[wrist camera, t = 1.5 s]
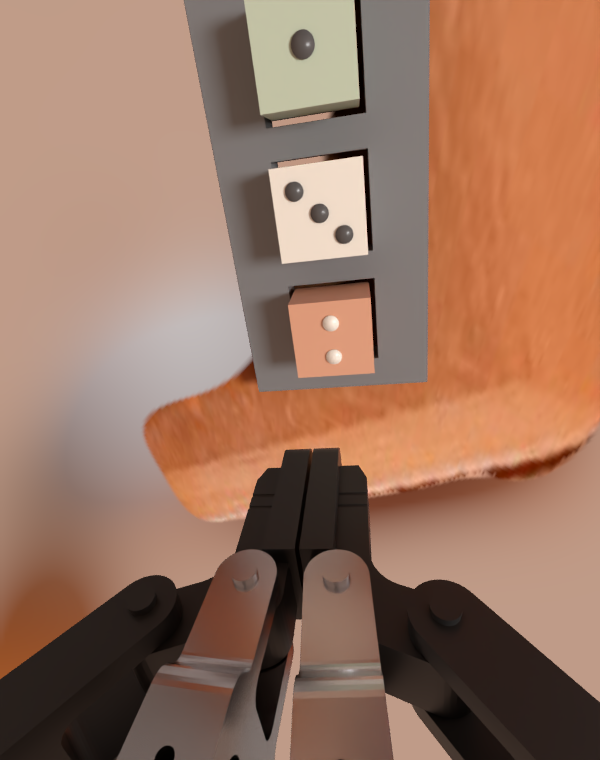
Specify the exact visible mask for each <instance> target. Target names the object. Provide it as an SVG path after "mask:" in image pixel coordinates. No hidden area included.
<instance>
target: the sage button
mask: <svg viewBox="0 0 600 760" xmlns="http://www.w3.org/2000/svg"><path fill="white" fill-rule="evenodd" d="M244 4H245V11H246V18H247V25H248V32H249V39H250V46H251V53H252V60H253V67H254V73H255V80H256V87H257V94H258V101H259V108H260V115H262V116H264V117H266V118H268V119H270V120H272V121H276V120H282V119H289V118H295V117H300V116H307V115H313V114H320V113H326V112H332V111H338V110H344V109H350V108H357V107H359V101H360V95H359V77H358V59H357V41H356V22H355V4H354V0H244Z"/></svg>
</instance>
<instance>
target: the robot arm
mask: <svg viewBox="0 0 600 760" xmlns="http://www.w3.org/2000/svg"><path fill="white" fill-rule="evenodd" d="M296 619H302V630H301V654H300V671H299V674H298V675H296V677H295V683H294V691H293V708H292V728H291V748H290V760H393V752H392V744H391V737H390V728H389V720H388V713H387V705H386V696H385V693H387V694H389V695H392V696H394V697H396V698H399V699H401V700H403V701H405V702H408V703H410V704H412V705H413V708H414V710H415V712H416V713H417V715H418V716H419V717H420V719H421V720H422V721H423V723H424V724H425V725H426V727H427V728H428V729H429V730H430V732H431V733H432V734H433V735H434V737H435V738H436V739H437V741H438V742H439V743H440V744H441V746H442V747H443V748H444V750H445V751H446V752H447V754H448V755H449V756H450V757H451V759H452V760H600V702H599V701H597V700H596V699H595V698H594V697H592V696H591V695H590V694H589V693H588V692H587V691H586V690H585V689H583V688H582V687H581V686H580V685H579V684H578V683H576V682H575V681H574V680H573V679H572V678H571V677H569V676H568V675H567V674H566V673H565V672H564V671H562V670H561V669H560V668H559V667H558V666H557V665H555V664H554V663H553V662H552V661H551V660H550V659H548V658H547V657H546V656H545V655H544V654H543V653H541V652H540V651H539V650H538V649H537V648H536V647H534V646H533V645H532V644H531V643H529V641H527V640H526V639H525V638H524V637H523V636H522V635H520V634H519V633H518V632H517V631H516V630H515V629H513V628H512V627H511V626H510V625H509V624H507V623H506V622H505V621H504V620H503V619H502V618H500V617H499V616H498V615H497V614H496V613H495V612H494V611H492V610H491V609H490V608H489V607H488V606H487V605H485V604H484V603H483V602H482V601H480V599H478V598H477V597H476V596H475V595H474V594H473V593H471V592H470V591H469V590H467V589H466V588H465V587H462V586H461V585H459V584H457V583H454V582H451V581H447V580H431V581H427V582H424V583H422V584H420V585H419V586H417V587H416V588H415V589H412V588H409V587H406V586H402V585H399V584H396V583H394V582H392V581H390V580H388V579H386V578H385V577H384V576H383V575H381V574H380V573H379V572H378V571H377V569H376V568H375V567H374V565H373V563H372V561H371V538H370V516H369V503H368V489H367V477H366V476H365V474H364V473H363V471H362V470H361V468H360V467H359V465H355V466H342V464H341V454H340V448H321V449H314V450H313V453H312V449H297V450H286V451H285V453H284V457H283V462H282V466H281V468H268V469H267V470H266V471H265V472H264V473H263V475H262V476H261V477H260V478H259V479H258V480H257V483H256V486H255V490H254V493H253V497H252V499H251V503H250V509H248V513H247V516H246V519H245V522H244V526H243V529H242V532H241V536H240V539H239V542H238V545H237V549H236V552H235V554H233V555H231V556H229V557H228V558H227V559H225V560H224V561H223V562H222V563H221V565H220V566H219V567H218V569H217V571H216V573H215V575H214V577H212V578H210V579H208V580H205V581H203V582H199V583H196V584H192V585H189V586H185V587H182V588H178V589H176V587H175V584H174V583H173V582H172V581H171V580H170V579H169V578H167V577H165V576H161V575H153V576H148V577H144V578H141V579H139V580H137V581H135V582H133V583H132V584H130V585H129V586H127V587H126V588H124V589H123V590H122V591H120V592H119V593H118V594H116V595H115V596H114V597H112V598H111V599H109V600H108V601H107V602H105V603H104V604H103V605H101V606H100V607H98V608H97V609H96V610H94V611H93V612H92V613H90V614H89V615H88V616H86V617H85V618H83V619H82V620H81V621H79V622H78V623H77V624H75V625H74V626H73V627H71V628H70V629H69V630H67V631H66V632H64V633H63V634H62V635H60V636H59V637H57V638H56V639H55V640H53V641H52V642H51V643H49V644H48V645H47V646H45V647H44V648H43V649H41V650H40V651H38V652H37V653H36V654H34V655H33V656H32V657H30V658H29V659H27V660H26V661H25V662H23V663H22V664H21V665H20V666H18V667H17V668H15V669H14V670H12V671H11V672H10V673H9V674H7V675H6V676H4V677H3V678H2V679H0V760H275V749H276V742H277V737H278V732H279V726H280V721H281V716H282V711H283V706H284V701H285V696H286V691H287V685H288V680H289V675H290V670H291V665H292V660H293V653H294V647H293V636H294V629H295V621H296Z"/></svg>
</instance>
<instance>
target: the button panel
mask: <svg viewBox="0 0 600 760" xmlns="http://www.w3.org/2000/svg"><path fill="white" fill-rule="evenodd" d="M359 2H360V22H361V42H362V62H363V81H364V101H365V113H361V114H355V115H348V116H342V117H336V118H330V119H323V120H317V121H311V122H305V123H298V124H292V125H286V126H280V127H274V128H273V127H272V120H270V119H268V118H266V117H264V116H262V115H260V108H259V101H258V94H257V87H256V80H255V73H254V67H253V60H252V53H251V46H250V39H249V32H248V25H247V18H246V11H245V4H244V0H184V4H185V9H186V14H187V19H188V25H189V30H190V35H191V40H192V45H193V51H194V56H195V61H196V66H197V71H198V77H199V82H200V87H201V92H202V98H203V103H204V108H205V113H206V118H207V123H208V128H209V134H210V139H211V144H212V150H213V155H214V160H215V165H216V170H217V175H218V181H219V185H220V191H221V196H222V201H223V207H224V212H225V216H226V222H227V227H228V232H229V237H230V243H231V248H232V253H233V258H234V264H235V269H236V274H237V279H238V284H239V290H240V295H241V300H242V305H243V311H244V316H245V321H246V326H247V331H248V337H249V342H250V347H251V352H252V357H253V362H254V368H255V373H256V378H257V383H258V388H259V392H264V391H281V390H298V389H314V388H331V387H348V386H365V385H382V384H399V383H416V382H427V352H428V182H429V12H430V0H359ZM365 149H367V160H368V180H369V199H370V219H371V239H372V244H368V255H360V256H351V257H342V258H332V259H323V260H314V261H304V262H295V263H286V264H282V261H281V254H280V247H279V240H278V233H277V226H276V219H275V212H274V205H273V199H272V192H271V185H270V178H269V171H268V169H275V168H278V164H277V162H283V161H290V160H296V159H303V158H310V157H317V156H324V155H331V154H338V153H344V152H351V151H358V150H365ZM368 278H374V298H375V318H376V337H377V345H373V350H374V369H375V373H370V374H354V375H338V376H323V377H307V378H298V372H297V365H296V358H295V351H294V344H293V337H292V331H291V324H290V317H289V310H288V304H289V302H290V299H291V297H292V295H293V293H294V291H295V290H294V286H297V285H308V284H318V283H328V282H338V281H348V280H358V279H368Z"/></svg>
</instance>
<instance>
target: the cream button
mask: <svg viewBox="0 0 600 760" xmlns="http://www.w3.org/2000/svg"><path fill="white" fill-rule="evenodd" d="M268 171H269V178H270V185H271V192H272V199H273V205H274V212H275V219H276V226H277V233H278V240H279V247H280V254H281V261H282V264H286V263H295V262H304V261H314V260H323V259H332V258H342V257H351V256H360V255H368V241H367V223H366V205H365V186H364V168H363V156H358V157H351V158H344V159H337V160H330V161H323V162H317V163H310V164H303V165H296V166H289V167H282V168H275V169H268Z"/></svg>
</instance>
